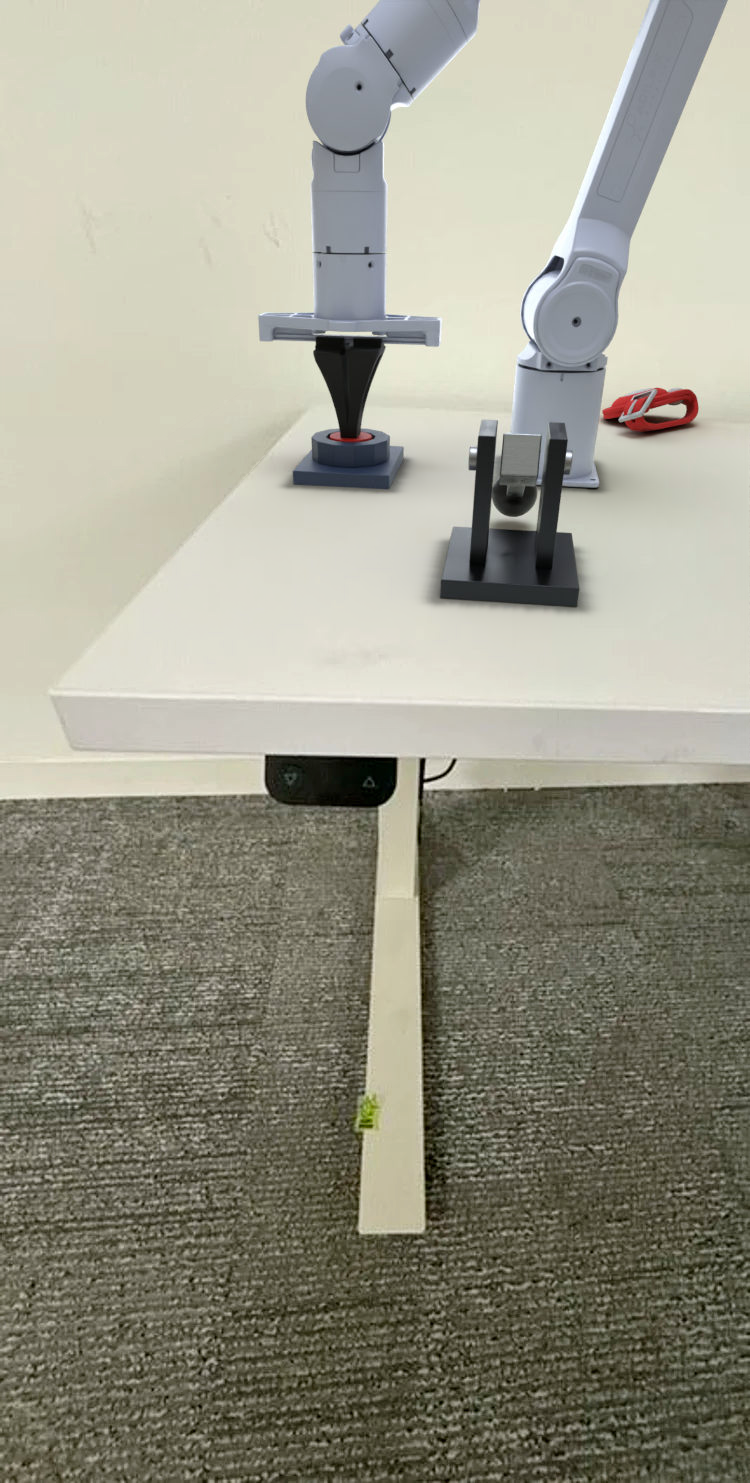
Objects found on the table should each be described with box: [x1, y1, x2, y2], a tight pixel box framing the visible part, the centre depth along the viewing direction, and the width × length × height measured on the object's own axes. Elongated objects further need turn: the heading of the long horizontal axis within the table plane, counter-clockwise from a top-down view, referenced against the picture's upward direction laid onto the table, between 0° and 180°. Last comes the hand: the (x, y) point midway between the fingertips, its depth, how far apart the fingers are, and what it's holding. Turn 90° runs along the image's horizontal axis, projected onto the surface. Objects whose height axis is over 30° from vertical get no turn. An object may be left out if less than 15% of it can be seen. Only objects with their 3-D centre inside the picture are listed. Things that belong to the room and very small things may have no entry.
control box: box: [292, 427, 405, 490], centre depth 74 cm, size 10×8×3 cm
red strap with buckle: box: [601, 387, 699, 433], centre depth 91 cm, size 12×4×10 cm
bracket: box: [439, 419, 580, 608], centre depth 53 cm, size 10×8×9 cm
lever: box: [491, 432, 542, 518], centre depth 56 cm, size 13×3×3 cm, turn 172°
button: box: [330, 432, 372, 442], centre depth 74 cm, size 4×4×2 cm
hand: (350, 436), depth 74 cm, fingers closed, pressing on button
